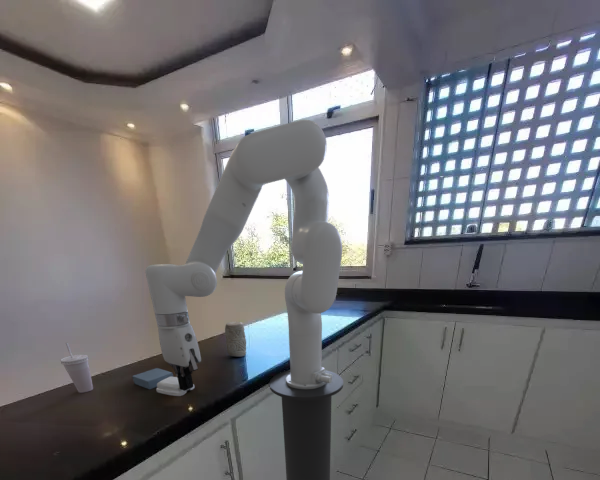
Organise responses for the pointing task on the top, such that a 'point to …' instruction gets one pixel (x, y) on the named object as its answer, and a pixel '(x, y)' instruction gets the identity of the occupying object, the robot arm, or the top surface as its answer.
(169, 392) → the white clamshell food container
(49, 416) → the top surface
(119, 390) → the top surface
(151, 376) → the rubber pad
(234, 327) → the carving
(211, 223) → the robot arm
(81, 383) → the smoothie
